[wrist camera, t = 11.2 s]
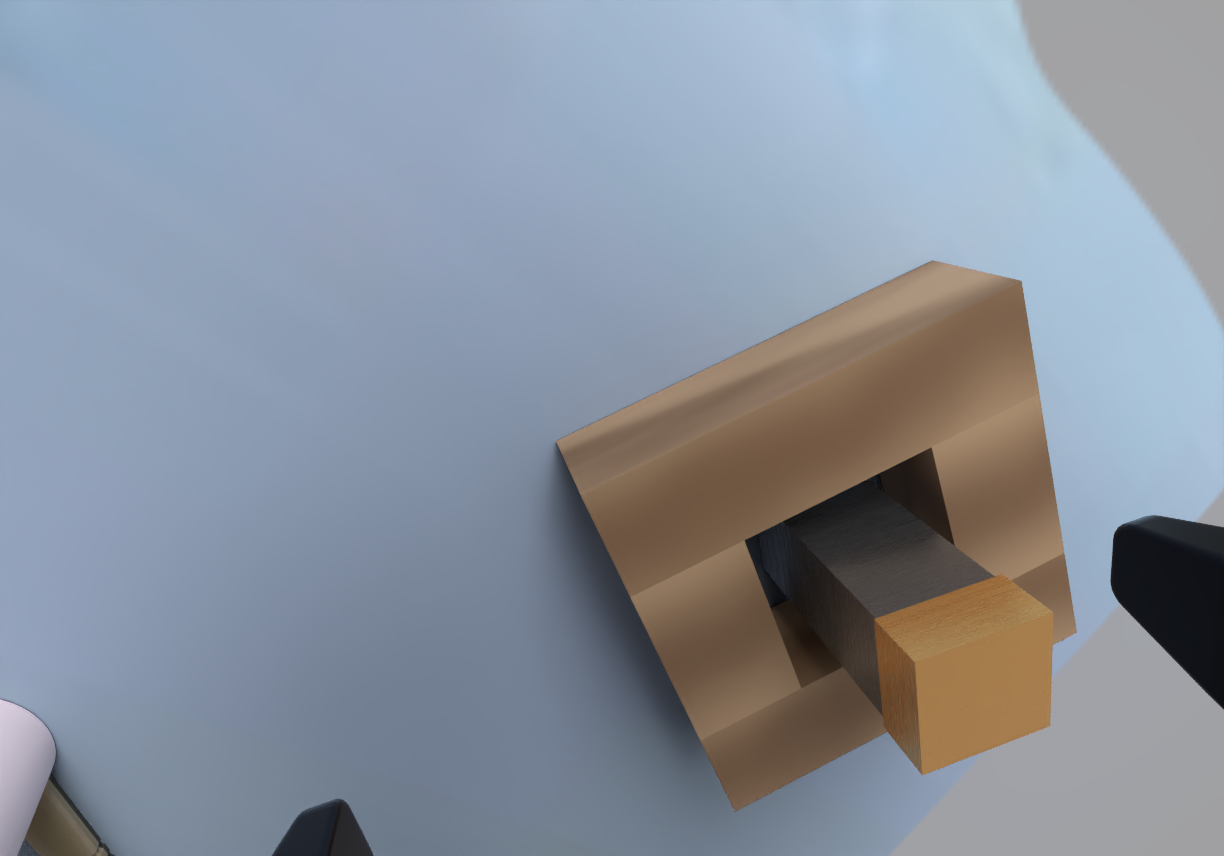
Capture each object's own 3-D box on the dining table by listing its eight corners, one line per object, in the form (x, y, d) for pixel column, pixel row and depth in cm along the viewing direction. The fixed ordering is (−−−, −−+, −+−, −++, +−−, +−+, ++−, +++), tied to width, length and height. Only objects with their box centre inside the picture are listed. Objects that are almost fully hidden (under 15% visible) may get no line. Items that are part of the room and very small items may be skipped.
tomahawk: (330, 902, 26) (330, 932, 25) (129, 994, 25) (120, 1029, 24) (-5, 343, 17) (-25, 355, 16) (-346, 436, 16) (-391, 455, 15)
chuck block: (997, 573, 26) (1076, 632, 23) (695, 728, 26) (735, 811, 22) (932, 260, 22) (1021, 280, 18) (555, 440, 21) (580, 495, 18)
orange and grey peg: (842, 455, 23) (1053, 612, 15) (851, 541, 24) (1050, 726, 17) (747, 486, 23) (914, 661, 15) (761, 571, 24) (922, 775, 16)
